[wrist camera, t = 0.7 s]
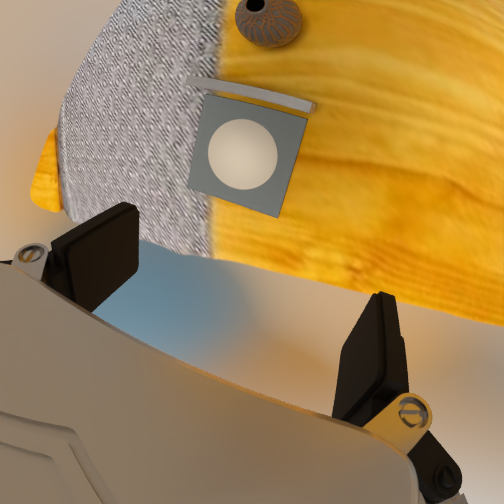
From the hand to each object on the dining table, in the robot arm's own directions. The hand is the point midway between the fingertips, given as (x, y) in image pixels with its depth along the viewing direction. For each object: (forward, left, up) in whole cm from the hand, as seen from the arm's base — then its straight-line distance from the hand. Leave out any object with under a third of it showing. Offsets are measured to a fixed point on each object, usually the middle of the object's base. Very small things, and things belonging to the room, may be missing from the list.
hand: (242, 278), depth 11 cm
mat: (+2, -9, -27) cm, 28 cm away
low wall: (-6, -9, -27) cm, 29 cm away
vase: (-15, -9, -27) cm, 32 cm away
